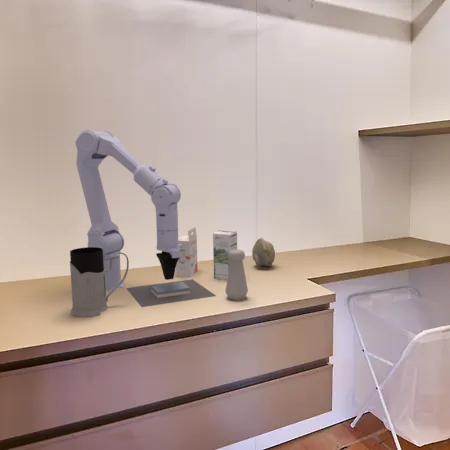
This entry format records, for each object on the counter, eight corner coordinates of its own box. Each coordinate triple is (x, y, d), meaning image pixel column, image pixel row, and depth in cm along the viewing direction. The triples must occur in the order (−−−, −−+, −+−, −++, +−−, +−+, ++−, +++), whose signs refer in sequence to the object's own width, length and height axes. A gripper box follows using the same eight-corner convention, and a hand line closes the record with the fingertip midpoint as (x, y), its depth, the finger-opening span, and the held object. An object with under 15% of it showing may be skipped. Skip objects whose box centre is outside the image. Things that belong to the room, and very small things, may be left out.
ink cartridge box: (183, 270, 146) (182, 226, 144) (197, 271, 145) (197, 226, 143) (175, 277, 138) (173, 230, 136) (190, 278, 137) (189, 230, 135)
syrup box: (238, 276, 138) (237, 230, 136) (230, 281, 133) (229, 233, 130) (221, 275, 140) (220, 229, 138) (213, 279, 135) (212, 232, 133)
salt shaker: (240, 304, 112) (240, 253, 110) (221, 300, 115) (220, 251, 113) (251, 298, 117) (251, 249, 115) (233, 294, 120) (232, 247, 118)
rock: (262, 272, 143) (262, 241, 142) (244, 267, 150) (244, 238, 148) (282, 267, 150) (282, 237, 148) (263, 262, 156) (263, 234, 154)
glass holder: (69, 308, 111) (65, 248, 109) (126, 300, 116) (124, 243, 114) (72, 319, 103) (68, 255, 101) (134, 310, 109) (131, 249, 106)
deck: (151, 291, 122) (157, 298, 117) (151, 286, 122) (157, 292, 116) (182, 287, 126) (190, 293, 120) (182, 282, 125) (190, 287, 120)
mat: (141, 308, 110) (141, 306, 110) (126, 289, 126) (126, 288, 126) (216, 297, 118) (216, 295, 118) (192, 280, 134) (192, 279, 134)
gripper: (190, 232, 115) (192, 283, 117) (173, 225, 128) (174, 271, 130) (164, 234, 112) (166, 287, 114) (149, 226, 125) (150, 274, 127)
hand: (168, 278), depth 122 cm, fingers closed
